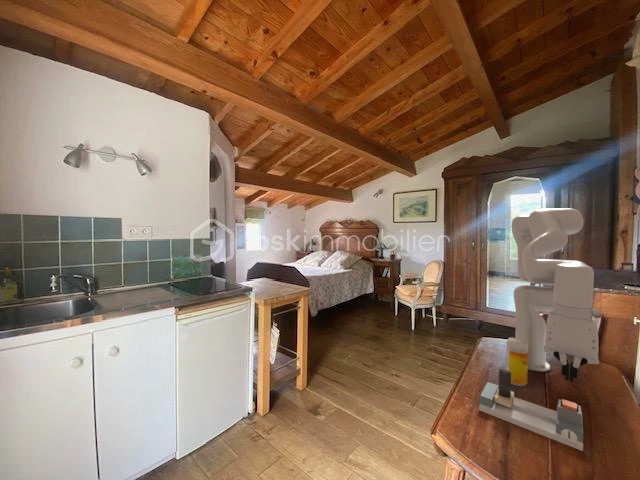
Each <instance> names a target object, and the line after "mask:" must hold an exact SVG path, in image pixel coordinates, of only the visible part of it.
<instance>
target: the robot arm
mask: <svg viewBox="0 0 640 480" xmlns="http://www.w3.org/2000/svg"><path fill="white" fill-rule="evenodd" d="M583 226H584V217H583V215H582V213H581V212H580V211H579V210H578V209H575V208H571V207H569V208H567V207H566V208H564V207H562V208H540V209H536V210H534V211H532V212H530V214H522V215H517V216H515V217H514V218H513V219H512V221H511V233H512V237H513V239H514V241H515V244H516V247H517V275H518V277H519V279H520V280H521V281H523V282H528V283H530V284H533V285H528V284H527V285H519V286H517V287H515V288H514V290H513V301H514V307H515V309H514V310H515V337H514V338H519V339H523V340H525V341H526V342H527V344H528V371H529V370H530V371H533V372H534V371H535V372H547V371H550V370H551V365H550V364H549V363H548V362H547V361H546V353H547V354H549V355H551V356H554V357H555V358H556V359H557V361H559V362H560V364H561V375H563V376H564V381H569V382H570V383H574V379H576V380H577V379H578V369H579V368H580V367H582V366H584V365H586V364H590V365H600V360H599V359H600V358H599V331H598V322H597V319H596V318H594V317H598V316H599V317H601V310H598V309H595V308H594V307H593V302H594V301H593V300H594V282H595V280H594V279H595V271H594V269H593V267H592V266H590V265H588V264H586V263H585V262H583V261H581V260H575V259H574V260H573V259H556V258H555V259H554V258H553V259H552V258H550V259H549V258H545V256H546V255H549V254H552V253H555V252H558V251H561V250H562V249H563V248H565V247H566V246H567V244H568V241H569V239H568V236H571V235H575V234H577V233H579V232H580V231H581V230H582V229H583ZM552 286H553V287H552ZM538 312H548V315H547V319H546V320H545V319H544V317H542V315H540V314H539V313H538ZM568 355H569V356H573V358H572V360H571V361H570V362H569V360H568V359H567V356H568Z"/></svg>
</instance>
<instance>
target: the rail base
mask: <svg viewBox="0 0 640 480" xmlns="http://www.w3.org/2000/svg"><path fill="white" fill-rule="evenodd" d="M498 388H499V384H495V383H493V382H489V381H487V383H486V384H485V386H484V388H483V389H482V391H481V394H480V395H479V396H480V399H479V401H480V402H479V405H478V406H479V407H478V408H479V409H478V411H480V412H483V413H485V414H488V415H490V416H493V417H495V418H498V419H500V420H503V421H506V422H508V423H509V424H510V423H511V424H513V425H515V426H518V427H520V428H524V429H525V430H529V431H531V432H533V433H536V434H538V435H541V436H543V437H546V438H548V439H551V440H553V441H556V442H558V443H561V444H563V445H566V446H569V447H572V448H573V449H577V450H579V451H581V452H584V426H583V425H584V424H583V412H582V406H581V405H578V404H577V412H575V411H572V410H569V409H566V408H563V407H562V399H558V402H557V405H556V410H554V409H551V408H548V407H544V406H542V405H538V404H535V403H533V402H530V401H527V400H524V399H521V398H519V397H515V396H514V400H513V403H512V408H510V407H507V406H504V405H501V404H499V403H496V402H494V397H495V394H496V392H497V390H498Z"/></svg>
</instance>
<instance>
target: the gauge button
mask: <svg viewBox="0 0 640 480" xmlns="http://www.w3.org/2000/svg"><path fill="white" fill-rule="evenodd" d="M561 400H562V407H563V408H566V409H569V410H572V411H575V412H577V405H578V404H577V403H576V402H574V401H570V400H566V399H563V398H562V399H561Z"/></svg>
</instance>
